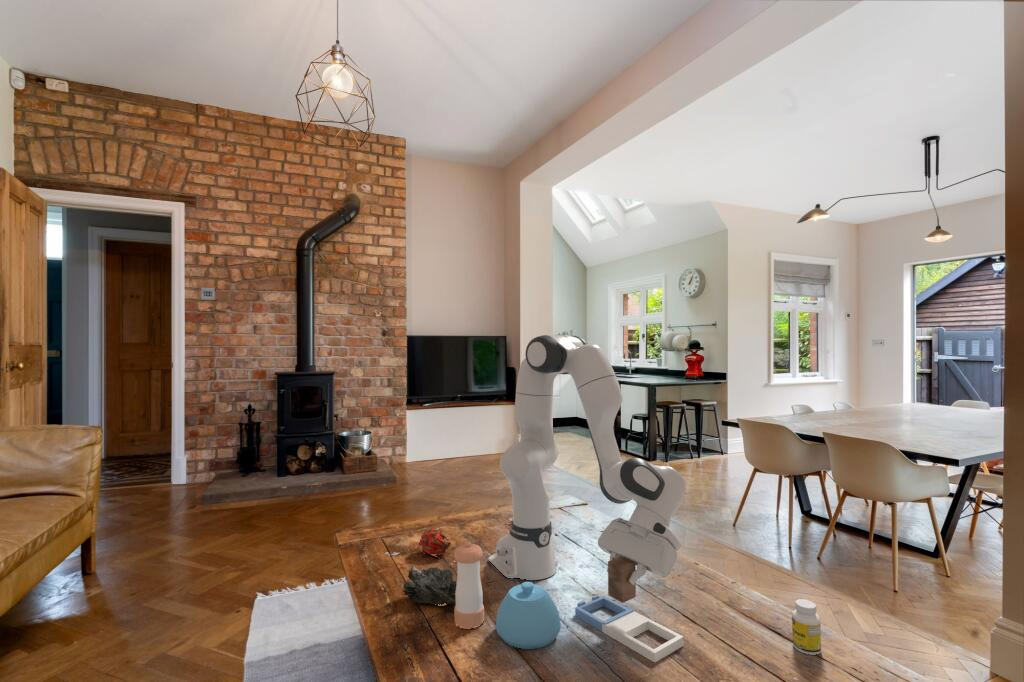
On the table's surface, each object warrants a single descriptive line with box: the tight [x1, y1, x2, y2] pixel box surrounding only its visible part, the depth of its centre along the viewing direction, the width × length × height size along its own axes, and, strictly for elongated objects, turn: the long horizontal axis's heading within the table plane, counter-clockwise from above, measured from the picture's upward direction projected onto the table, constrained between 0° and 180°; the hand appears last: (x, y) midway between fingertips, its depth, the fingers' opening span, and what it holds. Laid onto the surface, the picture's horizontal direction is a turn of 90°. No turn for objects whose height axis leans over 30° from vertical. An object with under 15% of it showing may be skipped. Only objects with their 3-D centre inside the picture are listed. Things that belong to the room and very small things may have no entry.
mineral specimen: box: [402, 565, 457, 606], centre depth 137 cm, size 15×13×10 cm
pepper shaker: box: [453, 541, 485, 627], centre depth 126 cm, size 7×7×19 cm
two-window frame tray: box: [574, 594, 685, 663], centre depth 121 cm, size 25×10×2 cm, turn 36°
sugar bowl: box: [495, 581, 562, 650], centre depth 120 cm, size 15×15×12 cm
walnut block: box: [607, 557, 637, 604], centre depth 122 cm, size 4×4×8 cm
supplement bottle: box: [791, 598, 822, 656], centre depth 113 cm, size 5×5×10 cm
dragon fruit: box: [418, 528, 451, 555], centre depth 167 cm, size 8×8×12 cm
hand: (619, 578), depth 121 cm, fingers closed on walnut block, 4 cm apart
